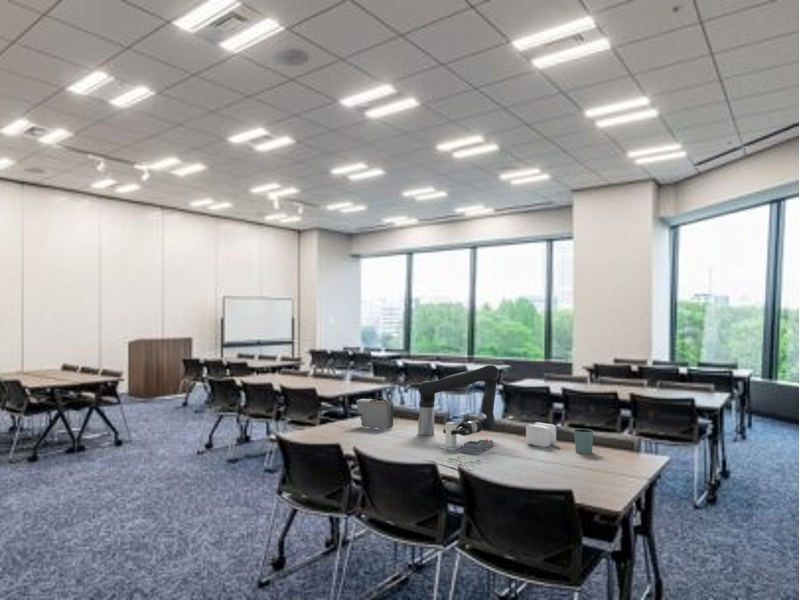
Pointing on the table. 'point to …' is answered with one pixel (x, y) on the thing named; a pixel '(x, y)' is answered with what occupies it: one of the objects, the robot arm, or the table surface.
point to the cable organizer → (541, 434)
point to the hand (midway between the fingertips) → (447, 432)
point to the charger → (450, 438)
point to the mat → (451, 447)
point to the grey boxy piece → (376, 413)
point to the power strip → (476, 446)
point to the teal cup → (583, 440)
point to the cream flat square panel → (463, 458)
